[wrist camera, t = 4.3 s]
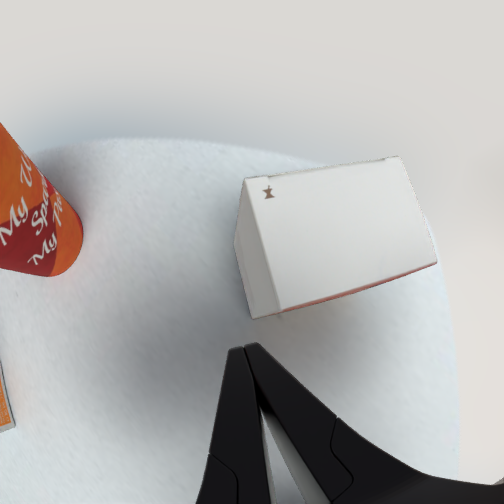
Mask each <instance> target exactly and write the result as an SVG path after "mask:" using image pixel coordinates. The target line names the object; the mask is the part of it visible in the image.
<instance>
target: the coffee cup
mask: <svg viewBox="0 0 504 504" xmlns="http://www.w3.org/2000/svg"><path fill="white" fill-rule="evenodd" d="M82 241H83V228H82V224H81V221H80V218H79V216H78V215H77V213H76V212H75V211H74V209H73V208H72V207H71V206H70V205H69V203H68V202H67V201H66V200H65V199H64V198H63V197H62V196H61V194H60V193H59V192H58V191H57V190H56V189H55V188H54V186H53V185H52V184H51V183H50V182H49V181H48V180H47V179H46V177H45V176H44V175H43V174H42V173H41V172H40V170H39V169H38V168H37V167H36V166H35V165H34V163H33V162H32V161H31V160H30V159H29V157H28V156H27V155H26V154H25V153H24V151H23V150H22V149H21V148H20V147H19V145H18V144H17V143H16V142H15V140H14V139H13V138H12V137H11V135H10V134H9V133H8V132H7V131H6V129H5V128H4V127H3V125H2V124H1V123H0V268H2V269H7V270H12V271H17V272H22V273H26V274H31V275H37V276H44V277H51V276H56V275H59V274H61V273H63V272H65V271H66V270H67V269H68V268H69V267H70V266H71V265H72V264H73V263H74V261H75V260H76V258H77V256H78V254H79V252H80V250H81V246H82Z"/></svg>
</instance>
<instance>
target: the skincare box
mask: <svg viewBox="0 0 504 504" xmlns="http://www.w3.org/2000/svg"><path fill="white" fill-rule="evenodd" d="M14 427H15V424H14V421H13V418H12V414H11V411H10V407H9V403H8V399H7V395H6V390H5V385H4V380H3V375H2V369H1V363H0V433H1V432H4V431H6V430H9V429H12V428H14Z"/></svg>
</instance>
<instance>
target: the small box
mask: <svg viewBox="0 0 504 504" xmlns="http://www.w3.org/2000/svg"><path fill="white" fill-rule="evenodd" d="M233 246H234V249H235V253H236V257H237V261H238V266H239V270H240V274H241V278H242V282H243V286H244V290H245V294H246V298H247V302H248V306H249V310H250V314H251V317H252V319H257V318H261V317H265V316H270V315H274V314H277V313H281V312H286V311H290V310H294V309H298V308H302V307H306V306H310V305H314V304H317V303H321V302H325V301H328V300H332V299H335V298H339V297H342V296H346V295H349V294H353V293H356V292H359V291H362V290H365V289H368V288H371V287H374V286H377V285H380V284H383V283H386V282H389V281H392V280H395V279H397V278H400V277H403V276H406V275H408V274H411V273H414V272H416V271H419V270H421V269H424V268H427V267H429V266H432V265H434V264H437V258H436V254H435V251H434V247H433V244H432V240H431V237H430V234H429V231H428V228H427V225H426V222H425V219H424V216H423V213H422V211H421V208H420V205H419V202H418V200H417V197H416V194H415V192H414V189H413V187H412V184H411V182H410V179H409V177H408V174H407V172H406V170H405V167H404V165H403V162H402V160H401V158H400V157H399V156H393V157H387V158H382V159H376V160H369V161H362V162H354V163H348V164H340V165H333V166H326V167H319V168H312V169H306V170H299V171H293V172H286V173H279V174H272V175H262V176H255V177H248V178H245V179H244V181H243V184H242V191H241V197H240V203H239V210H238V217H237V224H236V230H235V236H234V242H233Z"/></svg>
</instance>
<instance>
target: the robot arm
mask: <svg viewBox="0 0 504 504" xmlns="http://www.w3.org/2000/svg"><path fill="white" fill-rule="evenodd" d="M261 411H262V414H263V417H264V419H265V421H266V423H267V425H268V427H269V430H270V432H271V434H272V436H273V438H274V440H275V442H276V444H277V446H278V448H279V450H280V452H281V454H282V456H283V459H284V461H285V463H286V465H287V467H288V469H289V471H290V473H291V475H292V477H293V478H294V480H295V482H296V484H297V486H298V488H299V490H300V492H301V494H302V496H303V498H304V500H305V502H306V504H504V478H502V479H501V480H499V481H498V482H496V483H495V484H493V485H485V484H477V483H470V482H463V481H457V480H451V479H445V478H440V477H435V476H431V475H427V474H425V473H422V472H420V471H418V470H415V469H414V468H412V467H410V466H408V465H406V464H405V463H403V462H401V461H400V460H398V459H396V458H395V457H393V456H391V455H390V454H388V453H386V452H385V451H383V450H382V449H380V448H378V447H377V446H375V445H374V444H372V443H371V442H369V441H368V440H366V439H365V438H364V437H362V436H361V435H359V434H358V433H357V432H356V431H354V430H353V429H352V428H351V427H350V426H348V425H347V424H346V423H345V422H344V421H343V420H341V419H340V418H339V417H338V418H337V415H336V414H334V413H333V412H332V411H331V410H330V409H329V408H328V407H327V406H325V405H324V404H323V403H322V402H321V401H320V400H319V399H318V398H317V397H315V396H314V395H313V394H312V393H311V392H310V391H309V390H308V389H307V388H306V387H304V386H303V385H302V384H301V383H300V382H299V381H298V380H297V379H296V378H295V377H294V376H293V375H292V374H290V373H289V372H288V371H287V370H286V369H285V368H284V367H283V366H282V365H281V364H280V363H279V362H278V361H277V360H276V359H275V358H274V357H273V356H272V355H270V354H269V353H268V352H267V351H266V350H265V349H264V348H263V347H262V346H261V345H260V344H259V343H257V342H254V343H250V344H247V345H245V346H244V348H243V347H242V346H239V347H235V348H231V349H229V351H228V355H227V360H226V365H225V370H224V375H223V380H222V386H221V391H220V396H219V401H218V406H217V412H216V417H215V422H214V427H213V432H212V438H211V443H210V448H209V453H210V454H208V458H207V463H206V468H205V472H204V477H203V481H202V485H201V488H200V491H199V494H198V498H197V501H196V503H195V504H277V501H276V496H275V490H274V484H273V478H272V472H271V466H270V461H269V455H268V449H267V443H266V437H265V431H264V424H263V419H262V414H261ZM336 418H337V419H336Z"/></svg>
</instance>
